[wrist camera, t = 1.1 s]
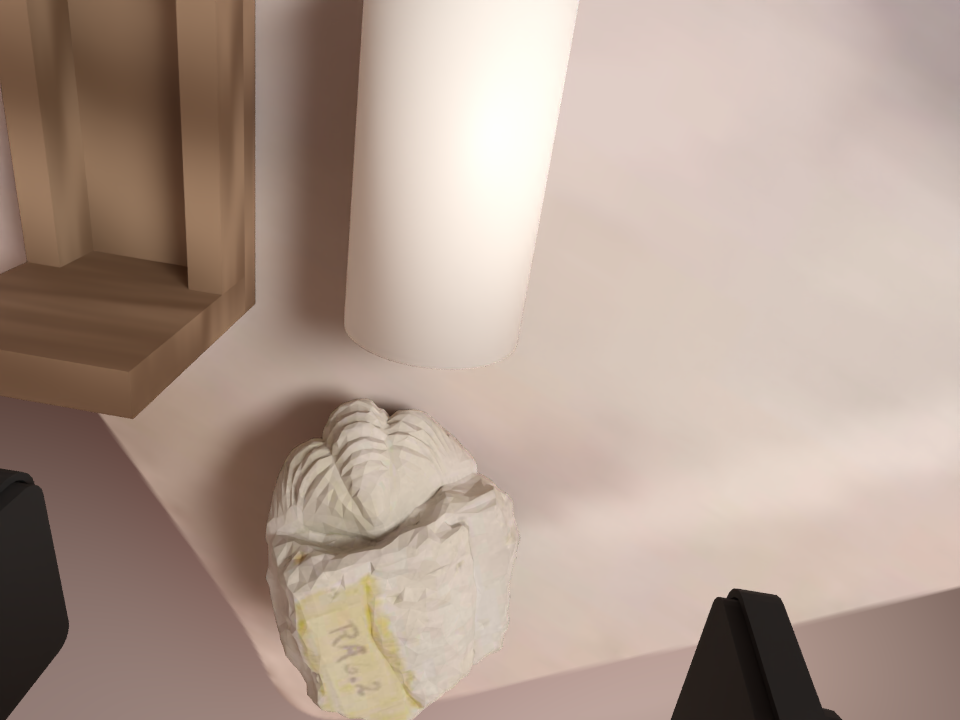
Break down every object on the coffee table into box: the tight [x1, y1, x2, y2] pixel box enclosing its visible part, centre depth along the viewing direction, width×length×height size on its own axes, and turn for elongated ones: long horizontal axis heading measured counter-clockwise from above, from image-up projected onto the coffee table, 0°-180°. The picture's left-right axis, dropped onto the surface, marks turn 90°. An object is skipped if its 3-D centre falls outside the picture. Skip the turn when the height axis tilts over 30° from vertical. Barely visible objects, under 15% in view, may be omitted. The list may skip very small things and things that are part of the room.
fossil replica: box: [265, 398, 520, 720], centre depth 28 cm, size 12×8×10 cm
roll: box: [344, 0, 579, 370], centre depth 22 cm, size 12×6×6 cm, turn 172°
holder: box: [0, 0, 255, 419], centre depth 21 cm, size 16×7×9 cm, turn 172°
